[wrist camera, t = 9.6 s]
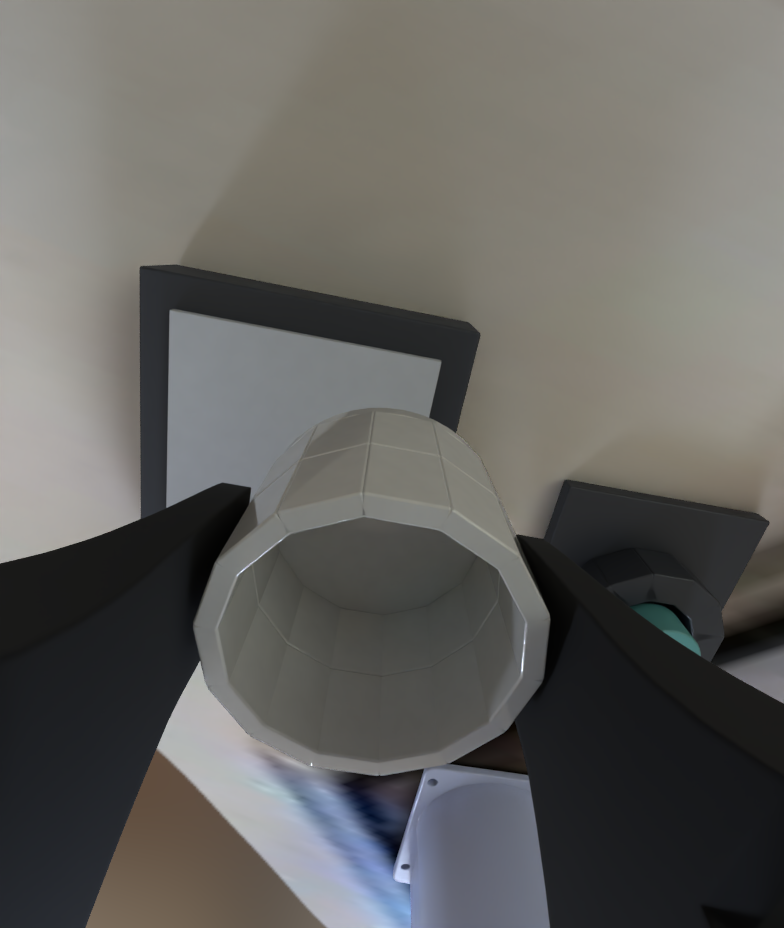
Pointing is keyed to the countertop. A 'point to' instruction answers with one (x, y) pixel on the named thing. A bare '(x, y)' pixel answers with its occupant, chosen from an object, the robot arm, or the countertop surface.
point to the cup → (374, 601)
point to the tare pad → (658, 551)
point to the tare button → (667, 624)
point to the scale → (274, 373)
